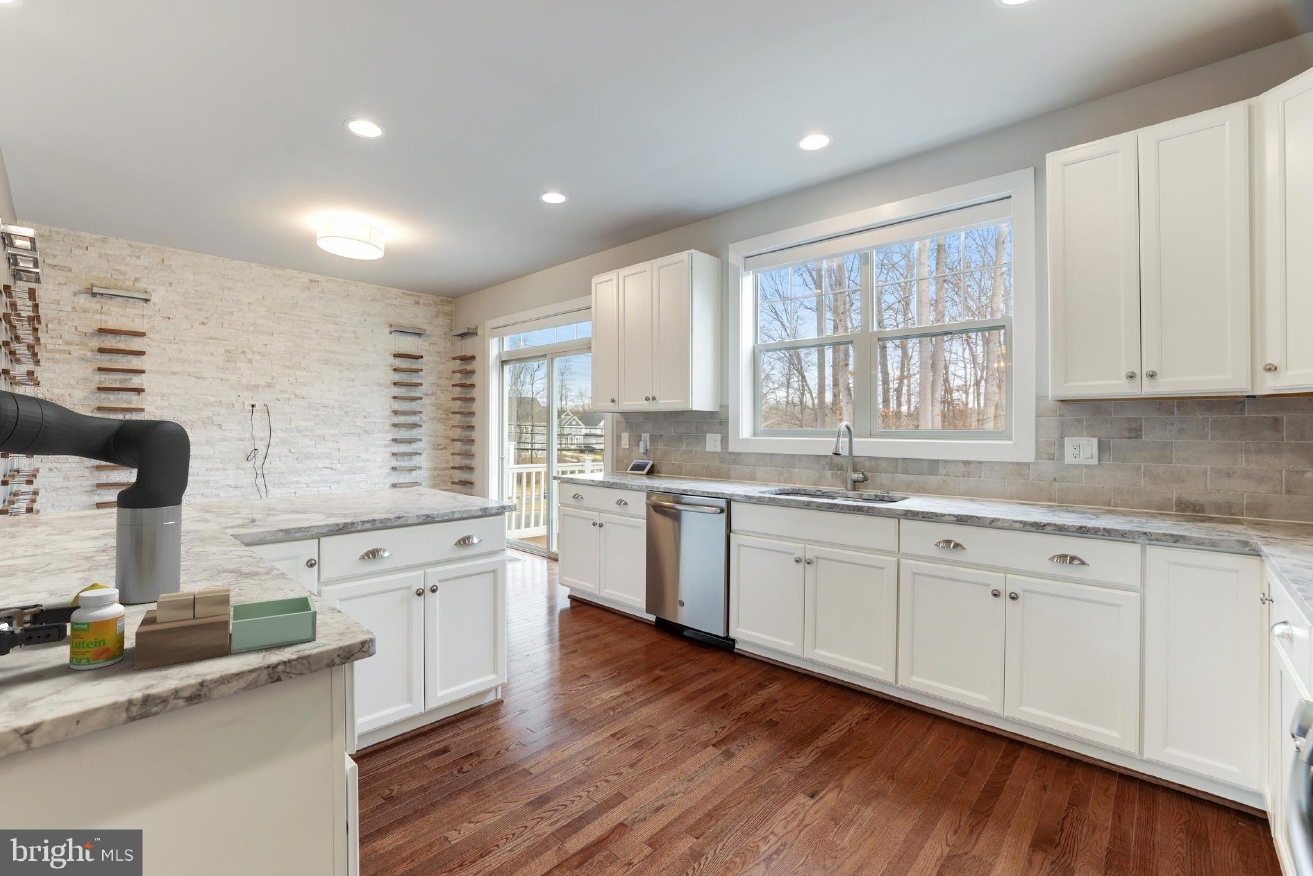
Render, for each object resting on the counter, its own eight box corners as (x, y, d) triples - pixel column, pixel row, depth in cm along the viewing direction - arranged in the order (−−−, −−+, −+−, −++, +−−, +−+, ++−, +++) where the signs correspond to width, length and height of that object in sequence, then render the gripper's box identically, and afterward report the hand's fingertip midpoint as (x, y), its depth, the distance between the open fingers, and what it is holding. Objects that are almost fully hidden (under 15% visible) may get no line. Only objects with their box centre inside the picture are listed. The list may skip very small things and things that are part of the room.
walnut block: (146, 643, 87) (147, 610, 87) (229, 632, 92) (230, 600, 92) (134, 669, 78) (135, 632, 78) (227, 655, 83) (228, 620, 83)
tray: (232, 632, 92) (233, 604, 92) (310, 621, 98) (311, 595, 98) (231, 653, 84) (231, 622, 84) (315, 640, 90) (316, 611, 90)
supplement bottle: (60, 673, 76) (62, 599, 76) (81, 658, 81) (82, 588, 81) (113, 667, 78) (115, 595, 78) (130, 653, 83) (132, 585, 83)
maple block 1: (160, 615, 85) (160, 594, 85) (195, 610, 87) (195, 590, 87) (156, 622, 82) (156, 601, 81) (192, 618, 84) (193, 597, 84)
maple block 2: (196, 610, 87) (197, 590, 87) (229, 606, 90) (230, 587, 89) (194, 618, 84) (195, 597, 84) (229, 613, 86) (229, 593, 86)
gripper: (-149, 630, 63) (61, 607, 72) (-86, 597, 75) (87, 581, 84) (-150, 699, 63) (60, 668, 72) (-87, 655, 75) (87, 633, 84)
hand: (74, 621), depth 78 cm, fingers open, 8 cm apart
